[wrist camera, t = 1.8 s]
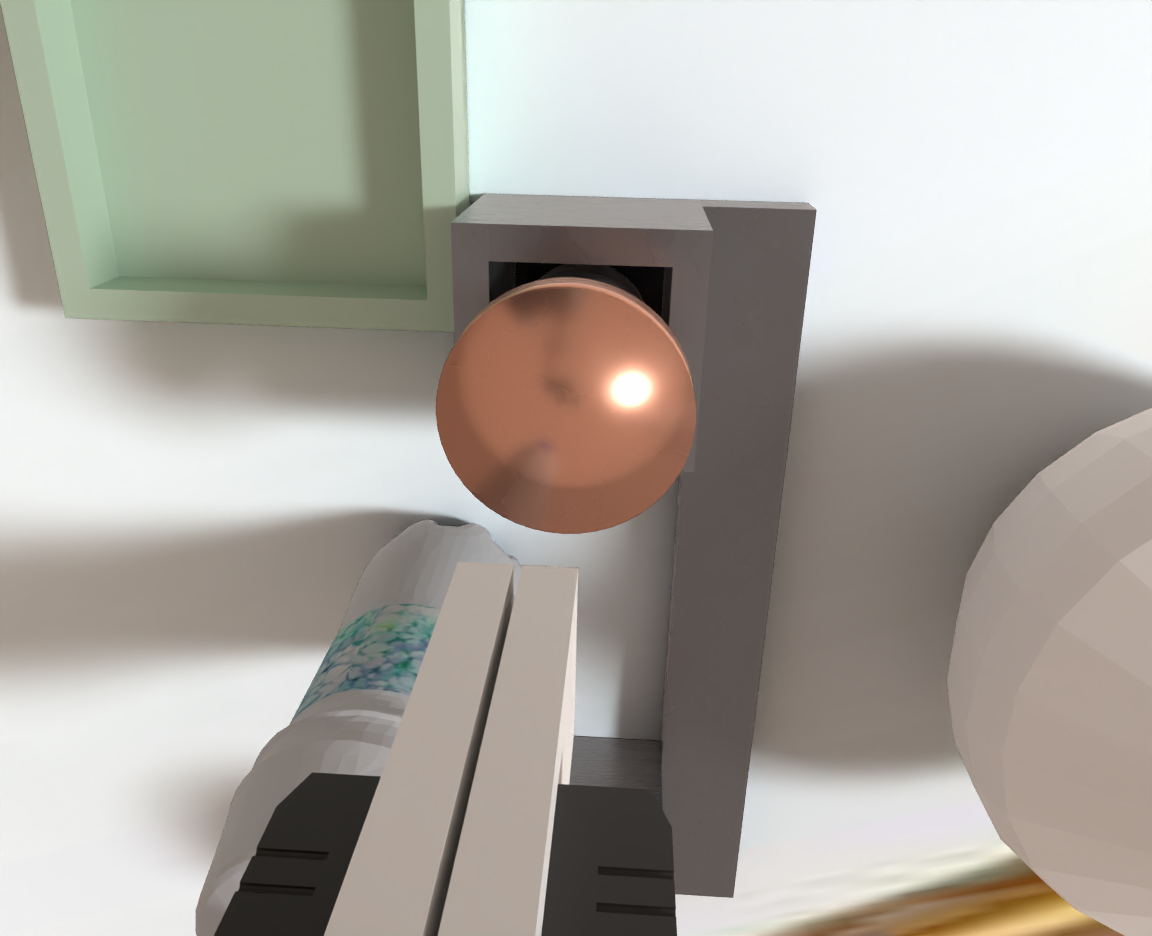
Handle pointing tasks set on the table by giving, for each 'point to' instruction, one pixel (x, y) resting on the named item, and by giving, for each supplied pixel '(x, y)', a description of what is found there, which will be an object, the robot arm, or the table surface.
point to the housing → (687, 470)
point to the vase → (1067, 675)
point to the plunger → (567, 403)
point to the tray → (248, 157)
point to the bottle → (351, 690)
